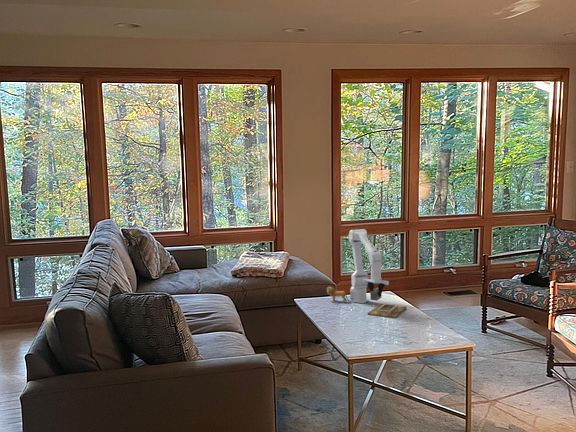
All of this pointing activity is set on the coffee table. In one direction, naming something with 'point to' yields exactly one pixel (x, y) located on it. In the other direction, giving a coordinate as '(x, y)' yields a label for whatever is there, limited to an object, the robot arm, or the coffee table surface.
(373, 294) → the servo block
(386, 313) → the pocket plate
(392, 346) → the coffee table surface
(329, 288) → the lion figurine
